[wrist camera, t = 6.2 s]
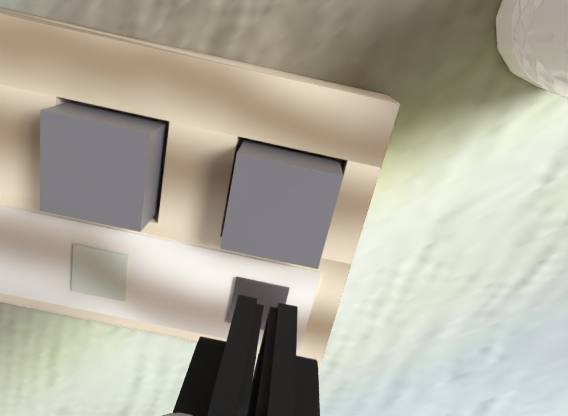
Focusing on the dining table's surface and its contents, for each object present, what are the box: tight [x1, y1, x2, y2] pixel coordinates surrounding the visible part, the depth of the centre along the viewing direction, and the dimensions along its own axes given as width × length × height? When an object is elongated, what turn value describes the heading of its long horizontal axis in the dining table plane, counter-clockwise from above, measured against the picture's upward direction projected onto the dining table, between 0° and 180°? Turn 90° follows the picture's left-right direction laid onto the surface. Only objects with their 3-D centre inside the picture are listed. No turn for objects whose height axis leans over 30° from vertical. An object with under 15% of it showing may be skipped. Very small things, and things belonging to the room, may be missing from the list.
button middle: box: [40, 102, 167, 232], centre depth 22 cm, size 5×5×3 cm
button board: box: [0, 8, 400, 366], centre depth 25 cm, size 16×27×4 cm, turn 78°
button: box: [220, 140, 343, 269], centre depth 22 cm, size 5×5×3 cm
